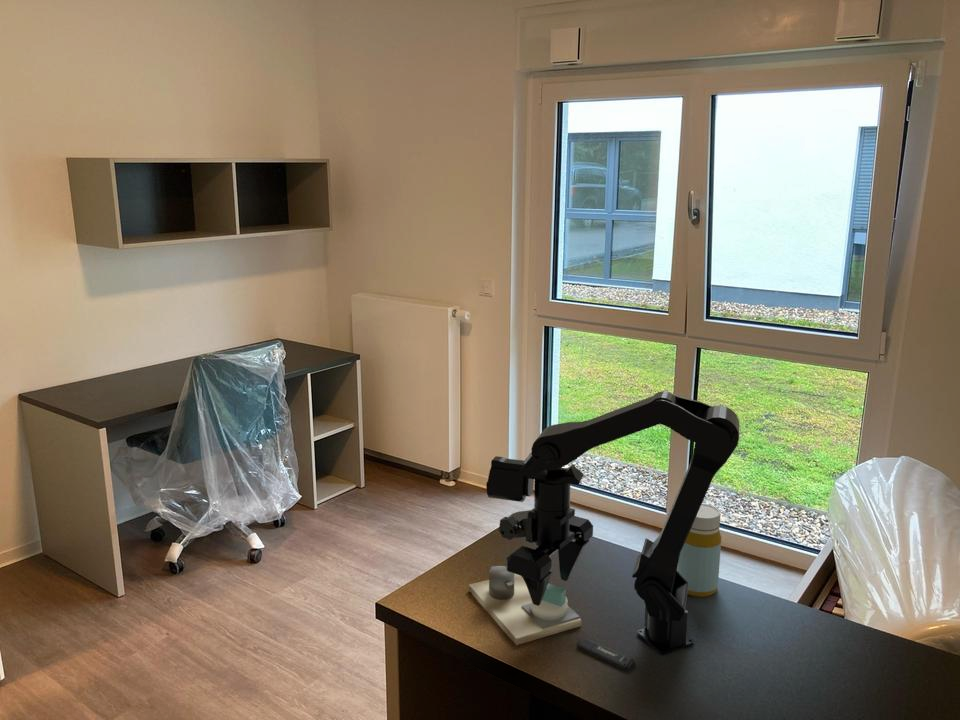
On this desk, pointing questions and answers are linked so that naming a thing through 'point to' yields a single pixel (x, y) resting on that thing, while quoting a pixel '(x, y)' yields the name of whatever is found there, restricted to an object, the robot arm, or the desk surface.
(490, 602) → the board
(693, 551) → the bottle
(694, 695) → the desk surface
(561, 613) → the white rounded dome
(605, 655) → the usb stick
